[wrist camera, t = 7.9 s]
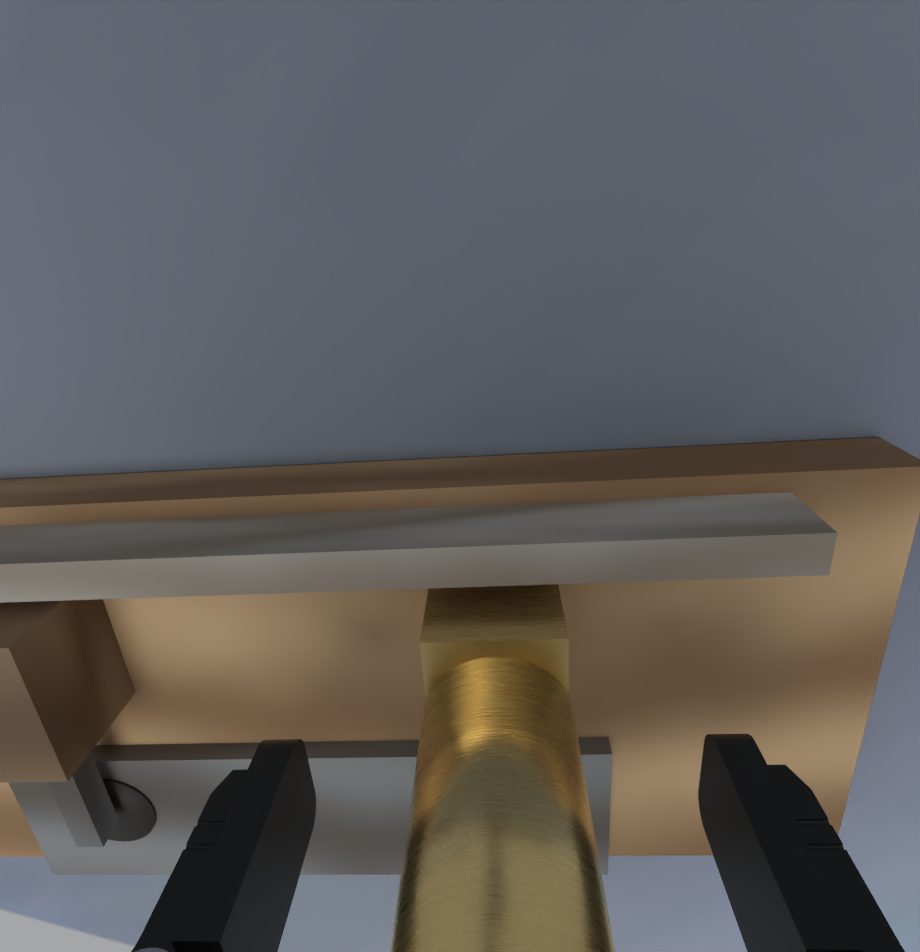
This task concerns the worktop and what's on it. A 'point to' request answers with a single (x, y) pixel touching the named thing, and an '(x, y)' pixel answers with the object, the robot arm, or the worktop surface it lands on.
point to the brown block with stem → (61, 705)
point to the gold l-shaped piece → (499, 785)
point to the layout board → (466, 565)
